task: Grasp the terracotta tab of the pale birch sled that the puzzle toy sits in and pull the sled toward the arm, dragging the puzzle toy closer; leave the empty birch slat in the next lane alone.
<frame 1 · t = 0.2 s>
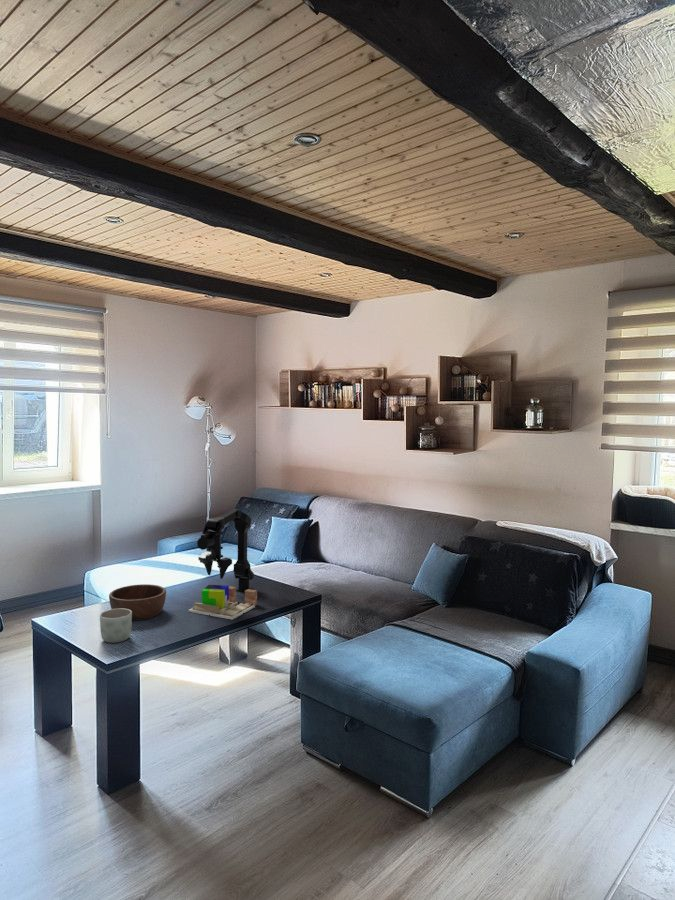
hand: (215, 576, 292), 14 cm above the table, fingers open, 9 cm apart
puzzle toy: (215, 609, 288), resting in sled
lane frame: (244, 589, 317), on the table
wooden bowl: (138, 614, 280), on the table
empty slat: (240, 603, 285), point 3 cm above the table, slide at 0.0 cm
sled: (219, 599, 290), point 3 cm above the table, slide at 0.0 cm
planter: (116, 639, 249), on the table
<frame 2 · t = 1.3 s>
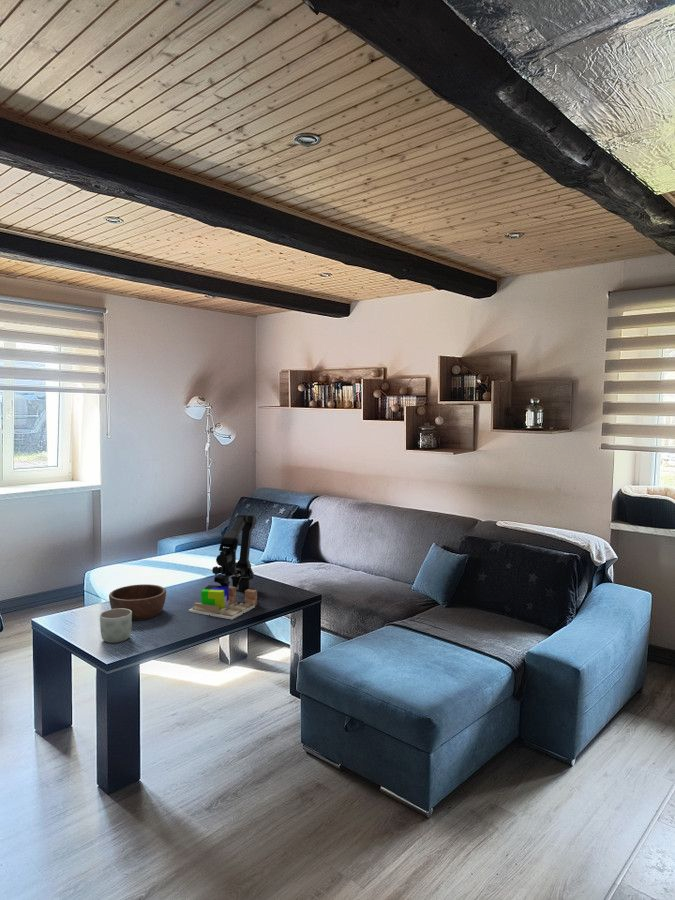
hand: (229, 592, 298), 4 cm above the table, fingers open, 7 cm apart
puzzle toy: (215, 609, 287), resting in sled, touching gripper
sled: (219, 599, 290), point 3 cm above the table, slide at -0.1 cm, touching puzzle toy
everything else where it was.
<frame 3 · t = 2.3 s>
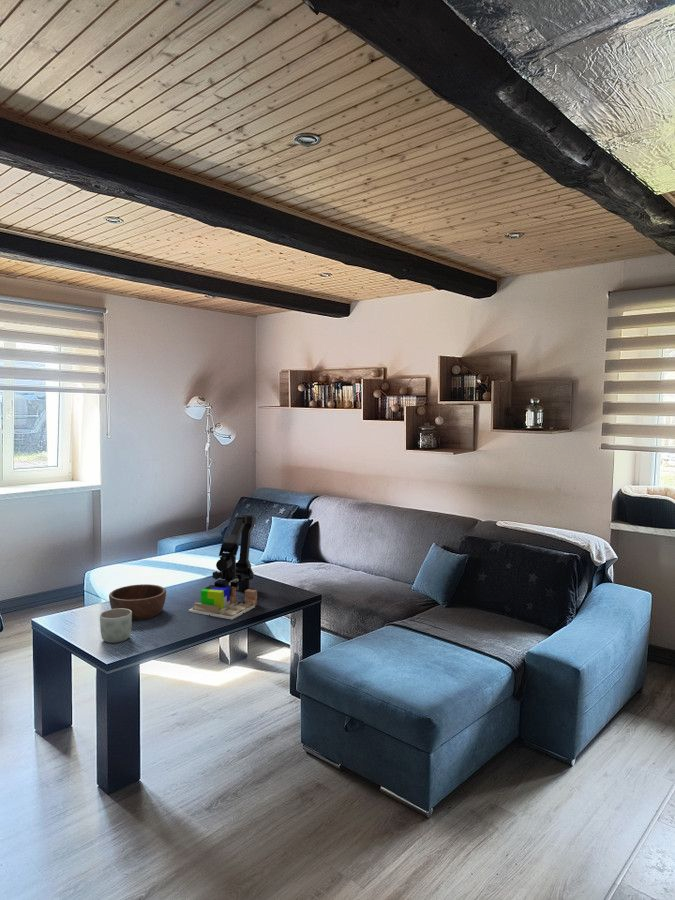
hand: (230, 597, 298), 2 cm above the table, fingers closed on sled, 3 cm apart
puzzle toy: (215, 609, 287), resting in sled
sled: (219, 599, 290), point 3 cm above the table, slide at 0.0 cm, touching gripper
everything else where it was.
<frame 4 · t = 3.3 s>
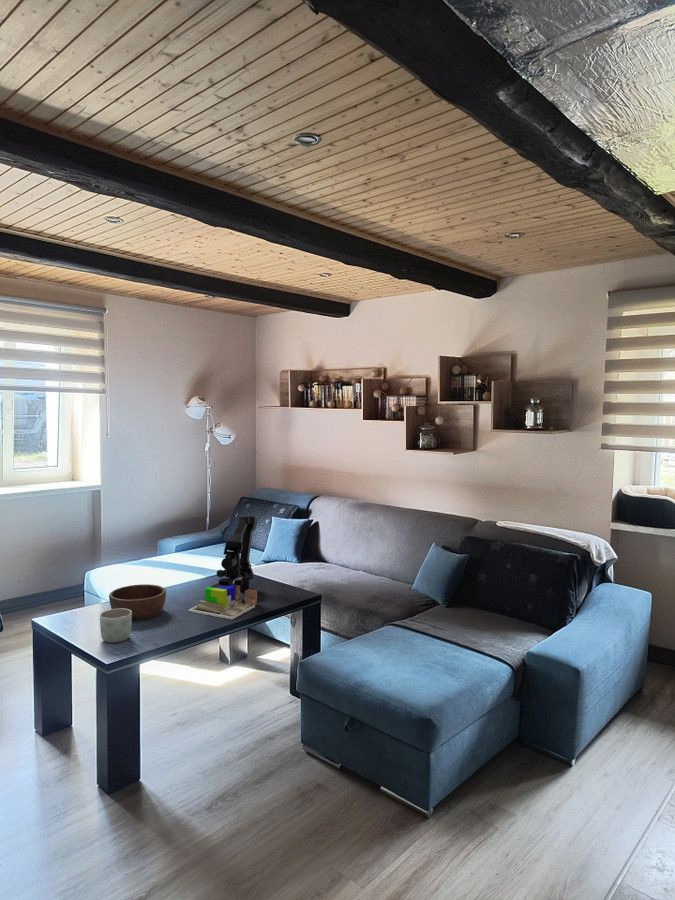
hand: (234, 595, 301), 2 cm above the table, fingers closed on sled, 3 cm apart
puzzle toy: (220, 608, 289), resting in sled
sled: (223, 597, 293), point 3 cm above the table, slide at 3.4 cm, touching gripper, puzzle toy
everything else where it was.
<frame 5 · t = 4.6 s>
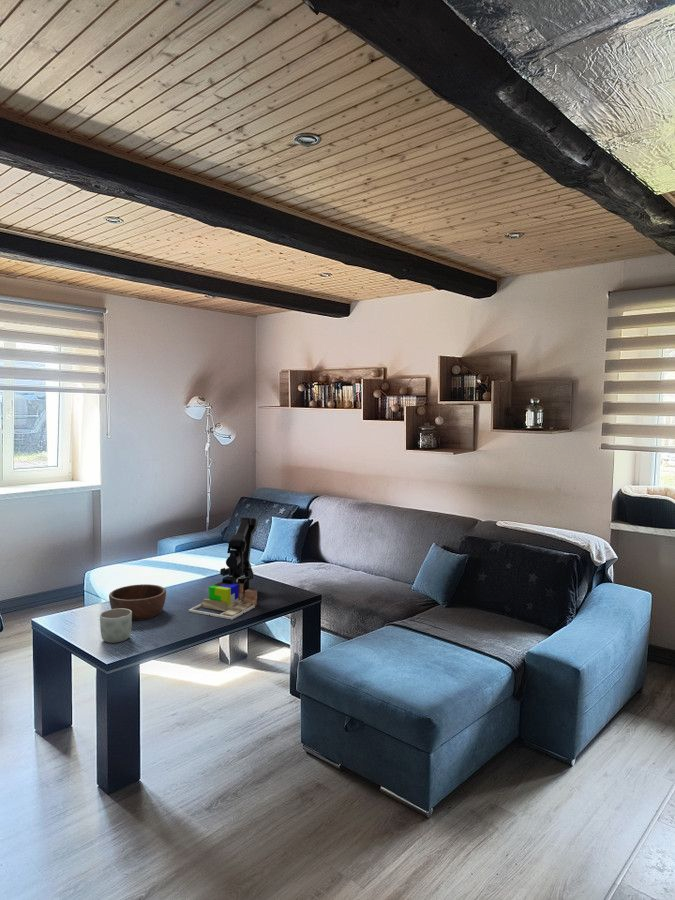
hand: (237, 593, 304), 2 cm above the table, fingers closed on sled, 3 cm apart
puzzle toy: (223, 606, 292), resting in sled
sled: (227, 595, 296), point 4 cm above the table, slide at 6.5 cm, touching gripper
everything else where it was.
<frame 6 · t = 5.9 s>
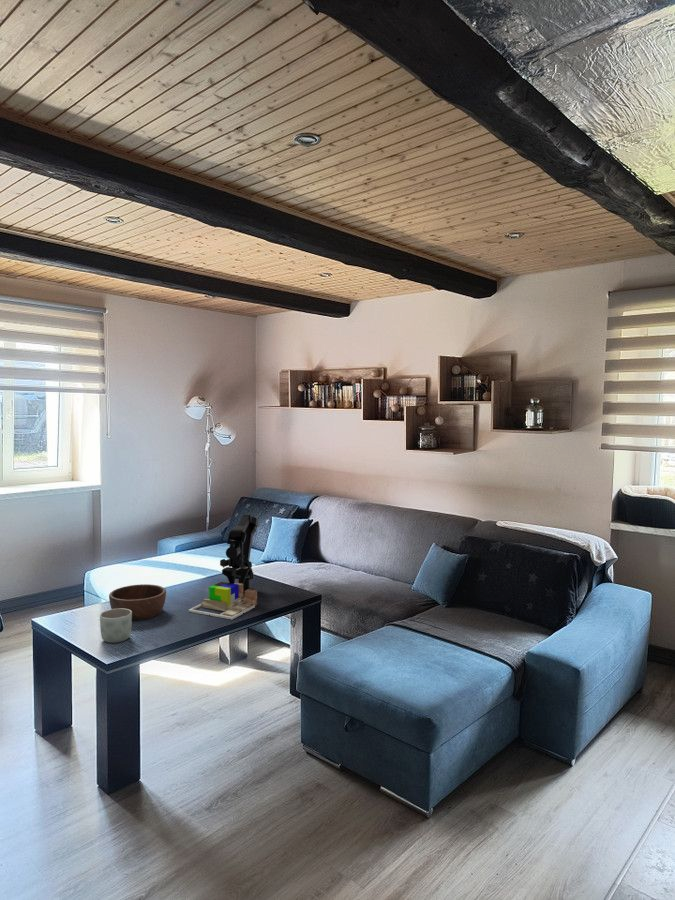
hand: (237, 584, 304), 7 cm above the table, fingers open, 9 cm apart
sled: (227, 595, 296), point 3 cm above the table, slide at 6.5 cm
everything else where it was.
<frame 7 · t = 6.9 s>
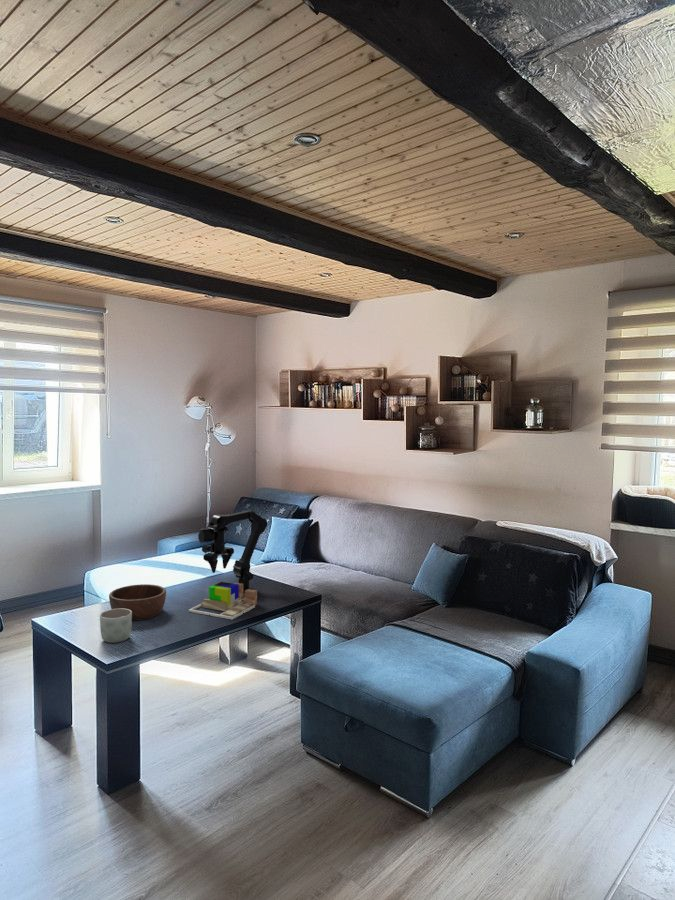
hand: (219, 570, 306), 13 cm above the table, fingers open, 9 cm apart
nothing on the table moved.
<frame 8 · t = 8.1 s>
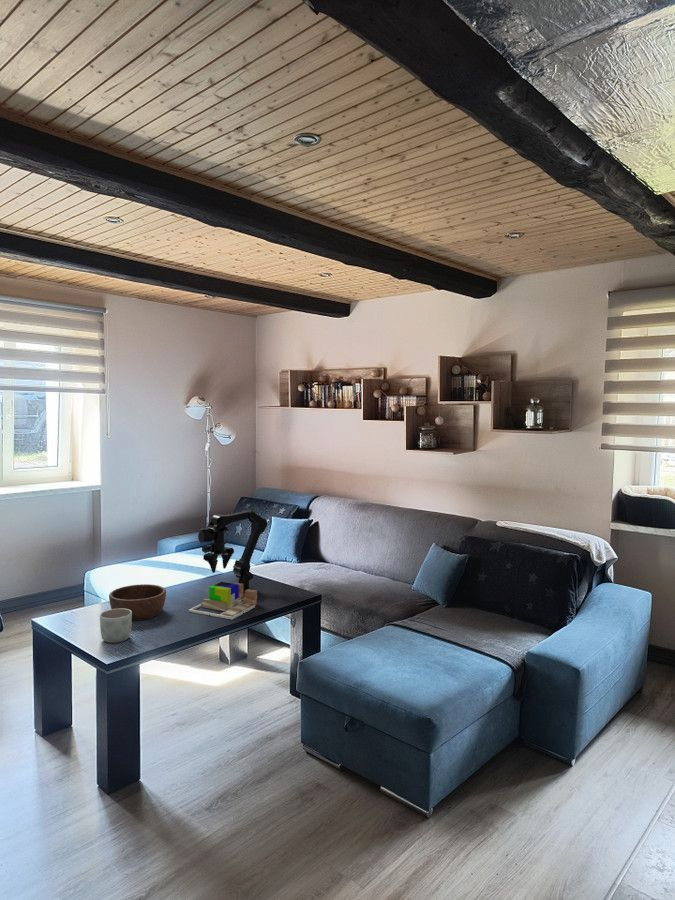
hand: (219, 570, 306), 13 cm above the table, fingers open, 9 cm apart
nothing on the table moved.
at the end: sled slide at 6.5 cm; puzzle toy inside the target area (1.5 cm from its centre), resting in sled; the gripper is holding nothing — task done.
